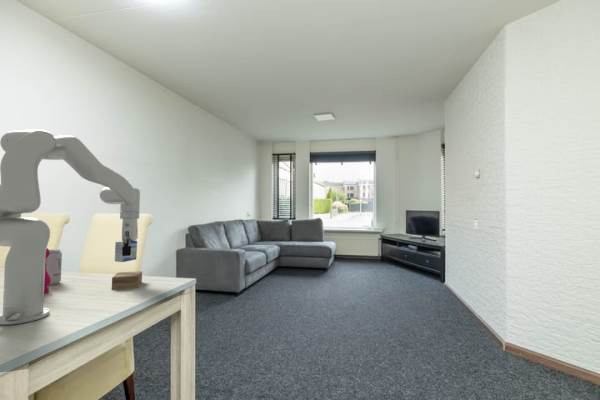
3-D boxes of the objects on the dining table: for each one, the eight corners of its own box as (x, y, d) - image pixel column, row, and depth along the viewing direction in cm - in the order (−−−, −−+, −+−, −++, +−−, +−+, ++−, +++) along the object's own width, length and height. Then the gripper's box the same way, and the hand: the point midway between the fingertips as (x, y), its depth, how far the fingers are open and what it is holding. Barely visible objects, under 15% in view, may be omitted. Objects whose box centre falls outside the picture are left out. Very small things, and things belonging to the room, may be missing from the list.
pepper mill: (49, 289, 125) (51, 241, 126) (51, 293, 120) (53, 243, 121) (26, 292, 120) (28, 242, 121) (26, 296, 115) (29, 244, 116)
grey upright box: (57, 284, 132) (59, 250, 133) (40, 285, 130) (42, 251, 131) (62, 281, 138) (64, 249, 138) (46, 282, 136) (48, 249, 136)
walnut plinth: (138, 287, 131) (138, 276, 131) (111, 289, 127) (112, 277, 127) (141, 282, 140) (142, 271, 140) (117, 283, 137) (117, 272, 137)
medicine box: (122, 262, 129) (123, 242, 129) (114, 261, 130) (115, 241, 130) (136, 259, 137) (137, 240, 137) (128, 258, 138) (129, 240, 138)
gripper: (135, 216, 127) (134, 256, 127) (142, 214, 144) (141, 250, 143) (115, 216, 125) (114, 257, 125) (124, 214, 141) (123, 251, 141)
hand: (128, 253), depth 134 cm, fingers closed on medicine box, 9 cm apart
